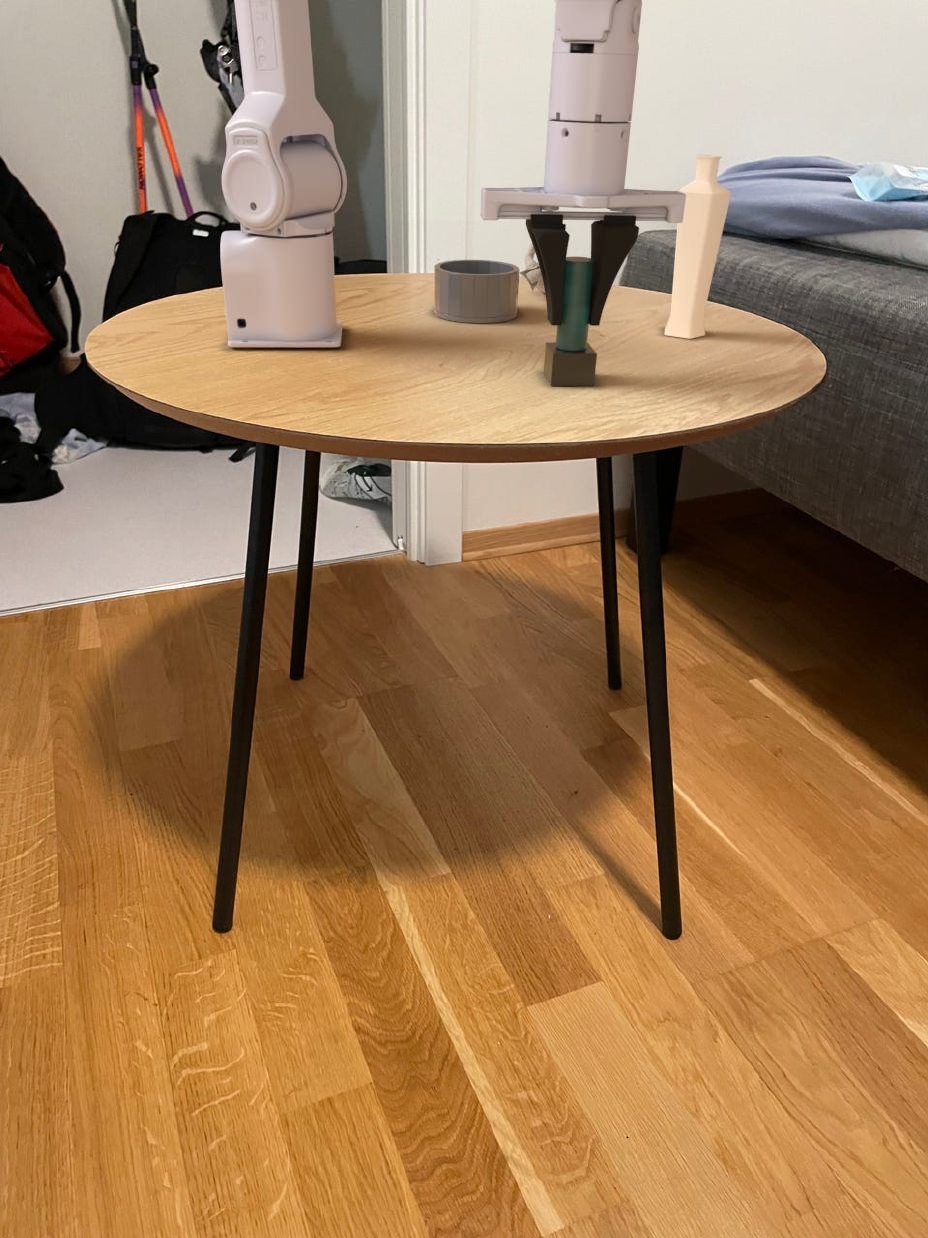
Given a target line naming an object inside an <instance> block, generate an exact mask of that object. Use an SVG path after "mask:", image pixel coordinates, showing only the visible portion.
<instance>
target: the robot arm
mask: <svg viewBox="0 0 928 1238" xmlns="http://www.w3.org/2000/svg"><path fill="white" fill-rule="evenodd" d="M233 1H234V10H235V20H236V28H237V39H238V47H239V48H238V49H239V57H240V66H241V67H240V68H241V76H242V86H243V92H244V94H243V95H244V98H243V99H242V102H241V104H240V105H239V106H238V108H237V109H236V110H235V112H234V113H233V114H232V116H231V117H230V119H229V120H228V121H227V123H226V126H225V128H224V133H225V141H226V150H225V151H226V153H225V158H224V162H223V166H222V171H221V189H222V195H223V198H224V200H225V204H226V205H227V207H228V209H229V212H230V213H231V214H232V216H233V217H234V218H235V219H236V220H237V221H238V222H239V224H240V225H239V226H240V230H224V231H223V232H222V233H221V236H220V250H219V251H220V269H221V271H220V272H221V281H222V289H223V300H224V316H225V321H226V327H227V329H226V330H227V339H228V340H227V347H229V348H340V347H341V346H342V339H343V322H342V321H341V320H337V301H336V300H337V299H336V280H335V279H336V278H335V255H334V254H335V253H334V252H335V251H334V233H333V228H334V227H335V226H336V224H335V214H336V213H337V212H338V211H339V210H340V209H341V207H342V206H343V203H344V201H345V198H346V196H347V195H346V194H347V189H348V177H347V171H346V168H345V165H344V162H343V160H342V158H341V156H340V154H339V152H338V149H337V144H336V141H335V128H334V124H333V121H332V119H331V118H330V117H329V115H328V114H327V112H326V111H325V110H324V108H323V107H322V105H321V104H320V102H319V100H318V99H317V97H316V92H315V78H314V64H313V63H314V62H313V50H312V38H311V22H310V10H309V0H233ZM554 2H555V14H554V15H555V16H554V30H553V31H554V33H553V41H552V50H551V51H552V53H551V67H550V68H551V69H550V82H549V83H550V85H549V98H548V99H549V101H548V115H547V116H548V120H547V128H546V129H547V131H546V144H545V145H546V147H545V160H544V161H545V162H544V163H545V164H544V179H543V186H528V187H527V186H525V187H523V186H522V187H482V188H481V190H480V193H481V194H480V217H481V219H482V220H483V221H498V220H525V227H526V230H527V233H528V236H529V239H530V241H531V243H532V244H533V247H534V250H535V256H536V259H537V263H539V266H540V270H541V274H542V279H543V283H544V289H545V293H544V294H545V301H546V312H547V313H546V314H547V315H546V317H547V319H546V320H547V321H548V322H549V324H550V325H551V326H557V325H559V326H561V321H562V313H563V279H564V270H565V262H566V257H567V255H568V247H569V242H570V236H571V235H570V234H569V232H568V231H567V230H566V229H567V228H566V227H567V224H566V223H564V221H567V220H568V221H592V223H591V224H590V258H591V259H594V261H595V262H594V273H593V284H592V295H591V306H590V316H589V326H591V327H593V326H594V327H595V326H597V327H599V326H600V324H601V320H602V315H603V312H604V309H605V306H606V303H607V300H608V297H609V294H610V291H611V289H612V286H613V284H614V282H615V280H616V278H617V276H618V274H619V271H620V269H621V268H622V266H623V264H624V262H625V260H626V259H627V257H628V255H629V253H630V252H631V250H632V249H633V247H634V246H635V244H636V242H637V240H638V238H639V233H640V227H639V226H638V225H636V223H637V222H666V223H669V224H677V223H682V222H683V215H684V207H685V200H686V194H684V193H681V192H680V190H679V191H678V190H655V189H654V190H653V189H636V188H634V189H633V188H625V184H626V176H627V168H628V167H627V165H628V156H629V145H630V138H631V137H630V136H631V126H632V117H633V109H634V108H633V107H634V99H635V91H636V90H635V88H636V87H635V86H636V79H637V78H636V77H637V69H638V59H639V49H640V45H639V37H640V27H641V17H642V10H643V9H642V6H643V0H554ZM560 208H572V209H573V208H574V209H606V210H609V211H571V210H570V211H568V210H567V211H564V210H561V211H560Z"/></svg>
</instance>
